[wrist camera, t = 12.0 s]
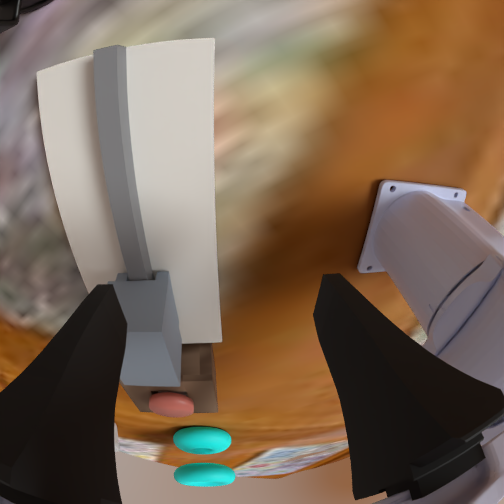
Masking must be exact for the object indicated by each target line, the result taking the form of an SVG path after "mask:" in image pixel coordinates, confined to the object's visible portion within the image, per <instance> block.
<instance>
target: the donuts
mask: <svg viewBox="0 0 504 504" xmlns="http://www.w3.org/2000/svg"><path fill="white" fill-rule="evenodd" d="M173 441H174V443H175V445H176V446H177V447H178V448H179V449H181V450H183V451H185V452H188V453H193V454H214V453H219V452H221V451H224V450H225V449H227V448H228V447H229V446H230V444H231V437H230V435H229V434H228V433H227V432H226V431H224V430H222V429H218V428H213V427H188V428H184V429H181V430H179V431H177V432H176V433H175V434H174V437H173ZM174 478H175V480H176V481H177V482H179V483H181V484H184V485H189V486H204V487H205V486H222V485H227V484H230V483H232V482H233V481H234V480H235V473H234V471H233V470H232V469H231V468H229V467H227V466H225V465H221V464H215V463H192V464H186V465H183V466H180V467H179V468H177V469H176V470H175V472H174Z"/></svg>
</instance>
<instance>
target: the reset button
mask: <svg viewBox="0 0 504 504" xmlns="http://www.w3.org/2000/svg"><path fill="white" fill-rule="evenodd" d="M149 408H150V410H151V411H153V412H154V413H156V414H159V415H162V416H167V417H185V416H188V415H191V414H192V413H193V412H194V402H193V400H192V399H191V398H189V397H188V395H187V392H165V391H158V393H156V394H153V395H152V396H150V399H149Z"/></svg>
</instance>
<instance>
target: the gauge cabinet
mask: <svg viewBox="0 0 504 504" xmlns="http://www.w3.org/2000/svg"><path fill="white" fill-rule="evenodd" d="M119 382H120V384H121V385H122V387H123V388H124V389H125V391H126V392H127V394H128V395H129V397H130V398H131V399H132V401H133V402H134V404H135V405H136V406H137V408H138V409H139V410H140V412H153V411H151V410H150V408H149V399H150V396H152V395H153V394H156V393H158V391H165V392H187V395H188V397H189V398H191V399H192V400H193V402H194V412H193V413H214V412H218V403H217V388H216V371H215V364H214V356H213V348H212V343H185V344H182V349H181V380H180V387H165V386H135V385H124V384H123V382H122V381H121V379H120V380H119Z"/></svg>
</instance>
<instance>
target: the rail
mask: <svg viewBox="0 0 504 504" xmlns="http://www.w3.org/2000/svg"><path fill="white" fill-rule="evenodd" d="M214 53H215V38H200V39H184V40H173V41H163V42H155V43H148V44H141V45H135V46H129V47H124V46H120V45H114V46H110V47H105V48H101V49H97V50H93V54H92V55H88V56H85V57H81V58H77V59H74V60H71V61H67V62H64V63H61V64H58V65H55V66H52V67H49V68H46V69H44V70H41V71H38V72H37V87H38V100H39V110H40V119H41V126H42V133H43V140H44V146H45V151H46V157H47V162H48V167H49V171H50V176H51V180H52V185H53V189H54V193H55V197H56V201H57V204H58V208H59V211H60V215H61V218H62V222H63V225H64V228H65V231H66V235H67V238H68V241H69V244H70V247H71V249H72V252H73V255H74V258H75V261H76V263H77V266H78V269H79V271H80V274H81V276H82V279H83V281H84V284H85V286H86V289H87V291H88V293H90V292H91V291H92V290H93V289H94V288H95V286H96V285H97V284H107V283H108V281H115V280H116V277H117V274H118V273H127V274H128V277H129V281H141V280H156V275H157V272H165V271H169V275H170V280H171V285H172V290H173V295H174V300H175V305H176V309H177V314H178V319H179V330H180V334H181V338H182V344H185V343H214V342H222V329H221V315H220V299H219V281H218V262H217V240H216V213H215V176H214Z"/></svg>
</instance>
